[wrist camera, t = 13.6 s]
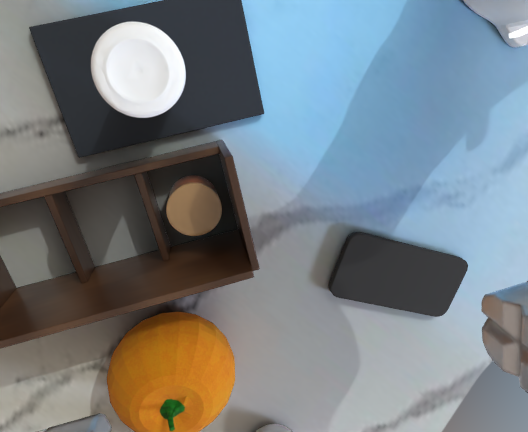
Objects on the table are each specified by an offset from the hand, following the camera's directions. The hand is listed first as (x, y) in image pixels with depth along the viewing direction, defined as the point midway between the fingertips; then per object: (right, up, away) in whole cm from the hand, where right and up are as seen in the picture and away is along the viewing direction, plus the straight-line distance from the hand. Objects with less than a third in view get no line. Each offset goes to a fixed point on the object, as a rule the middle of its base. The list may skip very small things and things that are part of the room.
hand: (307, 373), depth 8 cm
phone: (+14, -3, +35) cm, 38 cm away
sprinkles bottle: (-10, +15, +24) cm, 30 cm away
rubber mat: (-10, +15, +24) cm, 30 cm away
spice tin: (-7, +5, +28) cm, 30 cm away
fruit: (-10, -10, +33) cm, 36 cm away
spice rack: (-14, +3, +27) cm, 31 cm away
